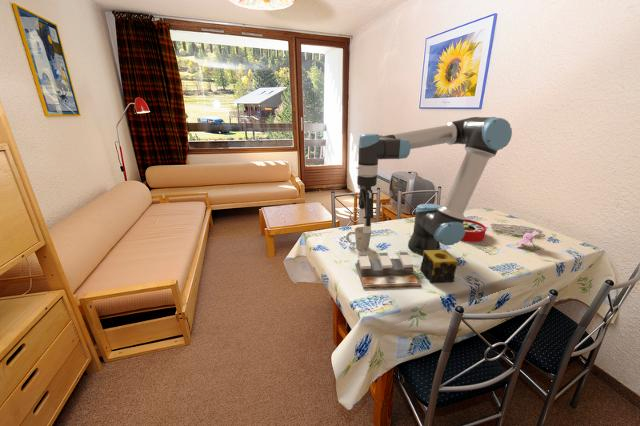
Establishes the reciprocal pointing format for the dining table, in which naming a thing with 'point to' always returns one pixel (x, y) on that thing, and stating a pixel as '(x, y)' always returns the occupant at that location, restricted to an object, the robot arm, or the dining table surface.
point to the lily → (528, 238)
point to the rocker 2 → (405, 259)
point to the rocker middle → (385, 260)
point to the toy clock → (473, 231)
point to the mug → (360, 238)
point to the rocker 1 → (364, 261)
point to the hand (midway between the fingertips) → (364, 227)
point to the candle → (438, 266)
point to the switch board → (387, 275)
